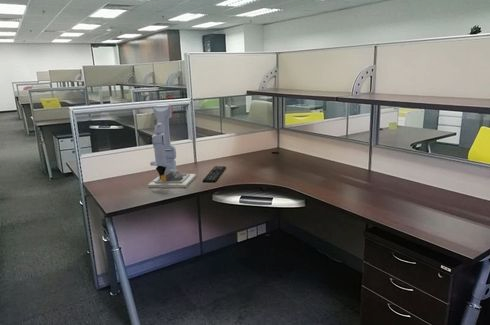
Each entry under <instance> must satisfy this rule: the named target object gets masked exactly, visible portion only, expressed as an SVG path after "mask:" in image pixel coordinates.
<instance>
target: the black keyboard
mask: <svg viewBox="0 0 490 325" xmlns="http://www.w3.org/2000/svg"><path fill="white" fill-rule="evenodd" d="M226 169H227V166H224V165H223V166H221V165H220V166H218V165H216V166H214V167H213V168H212V169H211V170H210V171H209V172H208V174H207V175H206V176H205V177H204V178H203V179H202V183H216V182H217V181H218V180H219V178H220V177H221V175H222V174H223V173H224V171H225V170H226Z"/></svg>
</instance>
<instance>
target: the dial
mask: <svg viewBox="0 0 490 325" xmlns="http://www.w3.org/2000/svg"><path fill="white" fill-rule="evenodd" d="M182 174H183V173H178V172H175V170H169V172H168V173H165V174H163V175H161V181H179V180H182V179H183V175H182Z"/></svg>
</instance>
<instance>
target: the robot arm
mask: <svg viewBox="0 0 490 325" xmlns="http://www.w3.org/2000/svg"><path fill="white" fill-rule="evenodd" d="M152 110H153V114H154V115H155V116H154V117H156V124H155V125H154V131H153V135H152V136H151V142H152V147H153V150H154V157H155V158H154V159H155V161H150V162H149V163H150V164H149V165H150V166H151V167H152V166H155V170H156V171H157V173H158V176H159V177H160V179H161V175H163V174H165V173H168V172H169V170H175V172H176V173H178V172H179V170H178V169H177V162H176V158H177V151H176V147H175V146H174V145H173V144H171V135H170V134H171V133H170V120H169V119H170V118H172V115H173V114H172V111H173V110H172V106H171V104H170V103H169V104H158V105H157V104H154V105H153V109H152Z"/></svg>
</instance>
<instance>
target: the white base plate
mask: <svg viewBox="0 0 490 325" xmlns="http://www.w3.org/2000/svg"><path fill="white" fill-rule="evenodd" d="M181 174H182V175H183V179H182V180H179V181H161V179H160V177H159V175H158V176H157V177H156V178H155V179H153V180H152V181H150V182H149V183H148V184H147V187H148V188H187V187H188V186H189V185H190V184H191V182H192V181H193V180H194V179H195V178H196V177H197V174H196V173H181Z"/></svg>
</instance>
